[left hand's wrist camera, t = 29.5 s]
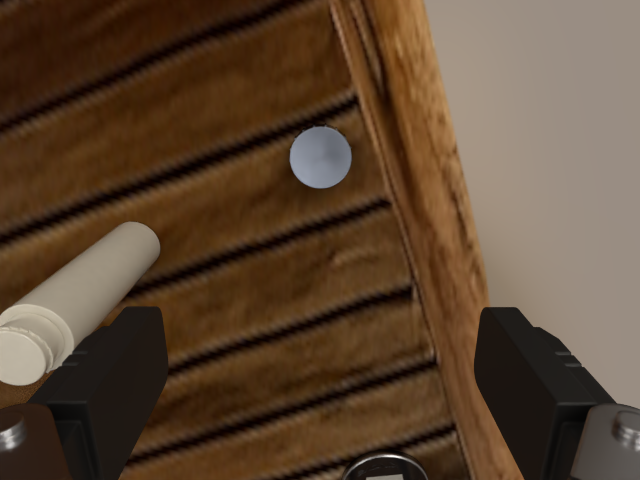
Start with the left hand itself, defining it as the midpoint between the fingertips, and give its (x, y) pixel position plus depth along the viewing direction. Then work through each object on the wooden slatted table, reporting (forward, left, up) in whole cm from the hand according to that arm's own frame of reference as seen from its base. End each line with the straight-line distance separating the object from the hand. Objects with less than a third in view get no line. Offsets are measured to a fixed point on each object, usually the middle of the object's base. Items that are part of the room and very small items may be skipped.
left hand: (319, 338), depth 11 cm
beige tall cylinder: (-3, +18, -28) cm, 33 cm away
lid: (0, 0, -26) cm, 26 cm away
